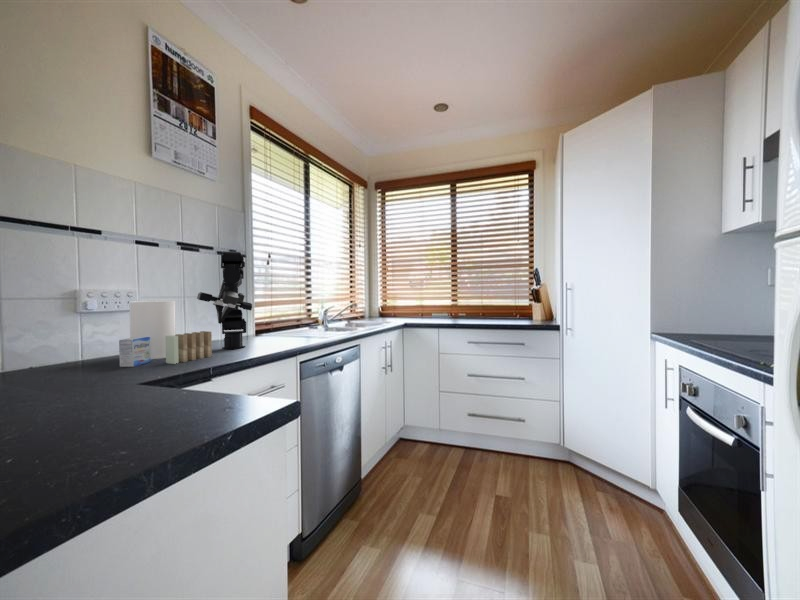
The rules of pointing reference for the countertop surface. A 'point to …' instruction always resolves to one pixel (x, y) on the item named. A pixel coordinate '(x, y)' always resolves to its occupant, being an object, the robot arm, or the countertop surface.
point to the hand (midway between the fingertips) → (219, 323)
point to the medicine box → (134, 351)
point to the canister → (153, 323)
